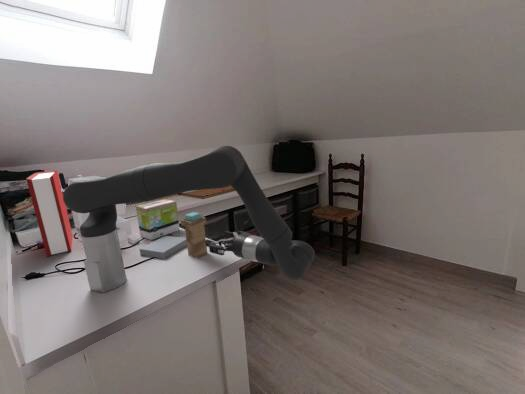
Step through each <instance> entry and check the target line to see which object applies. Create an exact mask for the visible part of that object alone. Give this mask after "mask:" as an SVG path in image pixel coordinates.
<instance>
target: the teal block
mask: <svg viewBox="0 0 525 394" xmlns="http://www.w3.org/2000/svg"><path fill="white" fill-rule="evenodd" d="M184 217H185V218H184V219H185V220H186V221H189V222H194V221H197V220H200V219H201V217H202V216H201V212H200V213H199V212H195V211H192V212H190V213H186V214H185V215H184Z"/></svg>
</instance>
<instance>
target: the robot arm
mask: <svg viewBox="0 0 525 394" xmlns="http://www.w3.org/2000/svg"><path fill="white" fill-rule="evenodd" d="M229 186H230V187H232V189H233V190H234V191H235V192H236V193H237V194H238V196H239V197H240V199H241V201H242V204H243V205H244V206H245V208H246V211H247V213H248V216H249V218H250V220H251V223H252V224H253V226H254V227H255V229H256V230H257V232H258V234H260V236H258V235H253V234H252V233H250V232H247V231H243V230H237V232H236V231H233V232H232V231H227V230H225V231H223V232H224V238H223V239H219V240H217V241H216V240H215V241H214V240H211V239H206V240H205V243H206V246H207V248H208V249H209V253H211V254H216V255H218V256H224V255H225V252H232V253H233V254H234V255H235V256H236V257H238V258H240V259H244V260H246V261H247V260H248V261H250V262H256V263H261V264H264V265H267V266H271V267H276V266H277V267H278V269H279V270H280V272H281V273H282V274H283V275H284V277H286V279H289V280H293V281H297V280H300V279H302V278H303V277H304V275H306V272H307V270H309V267H310V266H311V265H312V263H313V261H314V260H315V255H316V251H315V250H314V248H313V247H312V246H311V245H310V244H309V243H307V242H305V241H303V240H295V239H294V240H292V238H293V231H292V230H291V228H290V227H289V226H288V224H287V223H286V222H285V220H284V219H283V218H282V216H281V215H280V213H278V210H276V208H275V207H274V206H273V204H272V203H271V201H270V200H269V199H268V197H267V196H266V194H265V193H264V191H263V189H262V188H261V186H260V184H259V183H258V181H257V179H256V178H255V176H254V174H253V173H252V170H251V169H250V167H249V165H248V163H247V161H246V159H245V157H244V155H243V154H242V153H241V152H240V150H238V148H236V147H234V146H231V145H222V146H219V147H217V148H215V149H212V150H211V151H209V152H207V153H205V154H203V155H200V156H198V157H195V158H192V159H191V158H190V159H188V160H185V161H182V162H156V163H151V164H150V163H149V164H146V165H145V164H144V165H141V166H137V167H134V168H132V169H131V168H130V169H128V170H123V171H121V172H119V173H116V174H113V175H110V176H108V177H105V178H104V177H101V176H100V177H99V176H96V177H91V178H85V179H81V180H76V181H73V182H72V183H69V184H68V186H67V187H65V189H64V191H63V201H64V203H65V206H66V208H68V209H69V210H71V211H72V212H75V213H78V214H88V217H87V218H86V219H85V221H84V222H83V223H81V224H80V226H79V233H80V237H81V240H82V245H83V249H84V254H85V258H86V259H85V260H84V261H83V264H84V270H85V274H86V276H87V281H88V286H89V289H90V290H91V291H95V292H99V293H102V294H103V293H106V292H108V291H111V290H112V291H113V290H114V289H117V288H119V287H121V286H122V285H124V284H125V283H126V281H127V280H128V279H127V278H128V277H127V273H126V270H125V264H124V259H123V252H122V250H121V249H122V248H121V245H120V244H121V243H120V239H119V234H118V229H117V221H118V212H117V211H118V210H117V205H125V204H132V203H133V204H134V203H140V202H148V201H153V200H158V199H163V198H167V197H172V196H176V195H178V194H182V193H185V192H190V191H198V190H203V191H204V190H214V189H215V190H216V189H224V188H228V187H229ZM223 245H224V246H223Z"/></svg>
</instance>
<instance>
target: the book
mask: <svg viewBox="0 0 525 394" xmlns="http://www.w3.org/2000/svg"><path fill="white" fill-rule="evenodd" d="M25 180H26V182H27V183H26V184H27V188H28V191H29V194H30V198H31V202H32V206H33V209H34V213H35V217H36V220H37V224H38V228H39V232H40V236H41V240H42V243H43V246H44V251H45V254H46V258H49V257H51V256H52V255H56V254H57V255H58V254H61V253H65V252H70V253H72V249H73V248H72V247H73V232H72V227H71V223H70V220H69V219H70V218H69V214H68V210H67V206H66V205H65V203H64V201H63V194H64V192H63V191H62V192H61V189H62V186H61V182H60V177H59V173H58V170H47V171H41V172H40V171H38V172H34V173H32V174H31V175H29V176H28V177H27V178H25Z"/></svg>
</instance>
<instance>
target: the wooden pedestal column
mask: <svg viewBox="0 0 525 394" xmlns="http://www.w3.org/2000/svg"><path fill="white" fill-rule="evenodd" d="M180 224H181V226H183V227H184V232H185V238H186V241H187V245H186V246H187V255H188V256H190V257H193V258H195V259H198V258H201V257H203V256H205V255H207V254H208V247H207V246H206V243H205V240H207V239H206V232H205V231H206V230H205V229H206V228H205V224H207V218H206V217H205V216H201V219H200V220H197V221H194V222H189V221H186V220H185V218H183V219H180Z"/></svg>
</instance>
